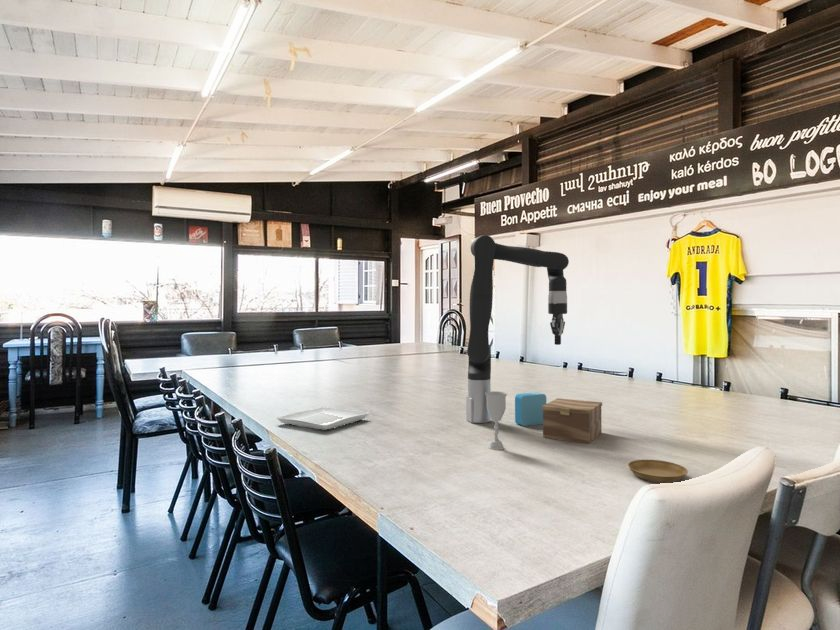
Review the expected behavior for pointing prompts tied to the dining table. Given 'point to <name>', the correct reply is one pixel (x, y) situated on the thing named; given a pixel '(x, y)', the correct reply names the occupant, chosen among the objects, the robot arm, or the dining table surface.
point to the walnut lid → (572, 406)
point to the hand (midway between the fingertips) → (557, 344)
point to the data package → (529, 408)
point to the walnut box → (572, 426)
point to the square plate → (345, 413)
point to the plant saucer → (657, 470)
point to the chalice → (496, 414)
